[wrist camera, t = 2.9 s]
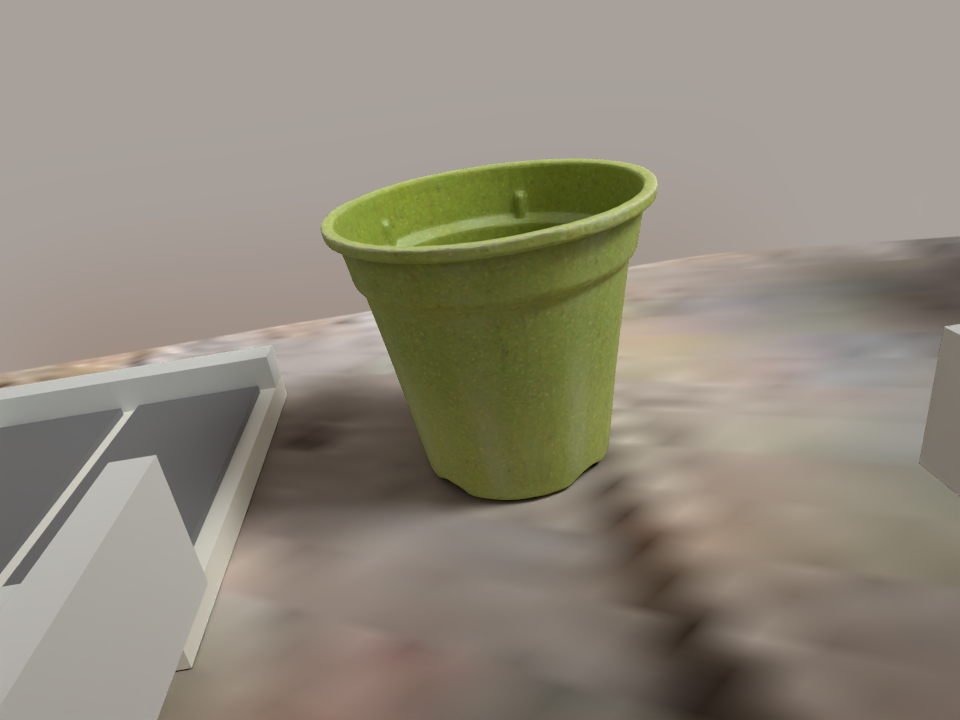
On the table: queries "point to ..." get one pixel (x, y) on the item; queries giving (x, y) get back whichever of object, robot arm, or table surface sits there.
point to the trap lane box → (139, 453)
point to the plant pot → (502, 310)
